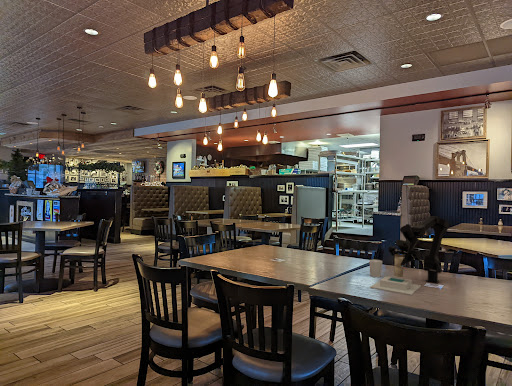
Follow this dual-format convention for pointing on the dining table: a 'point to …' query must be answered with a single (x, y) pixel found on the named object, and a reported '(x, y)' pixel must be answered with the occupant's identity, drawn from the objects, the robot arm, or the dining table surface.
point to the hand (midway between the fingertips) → (397, 264)
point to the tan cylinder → (398, 265)
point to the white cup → (375, 268)
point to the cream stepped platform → (396, 285)
